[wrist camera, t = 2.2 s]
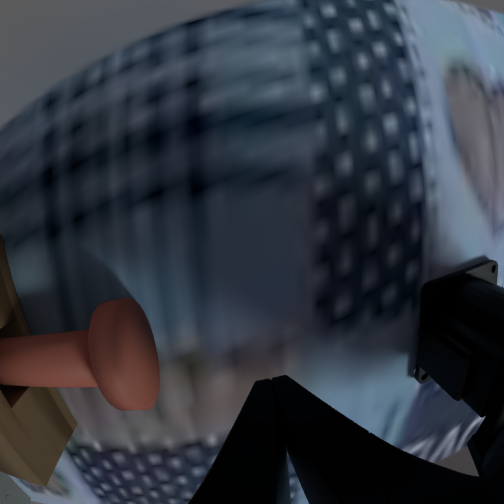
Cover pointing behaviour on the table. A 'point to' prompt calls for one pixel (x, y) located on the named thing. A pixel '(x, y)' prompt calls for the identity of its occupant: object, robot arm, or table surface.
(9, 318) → the block
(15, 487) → the white curved piece
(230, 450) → the robot arm
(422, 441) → the table surface
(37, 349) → the pin
